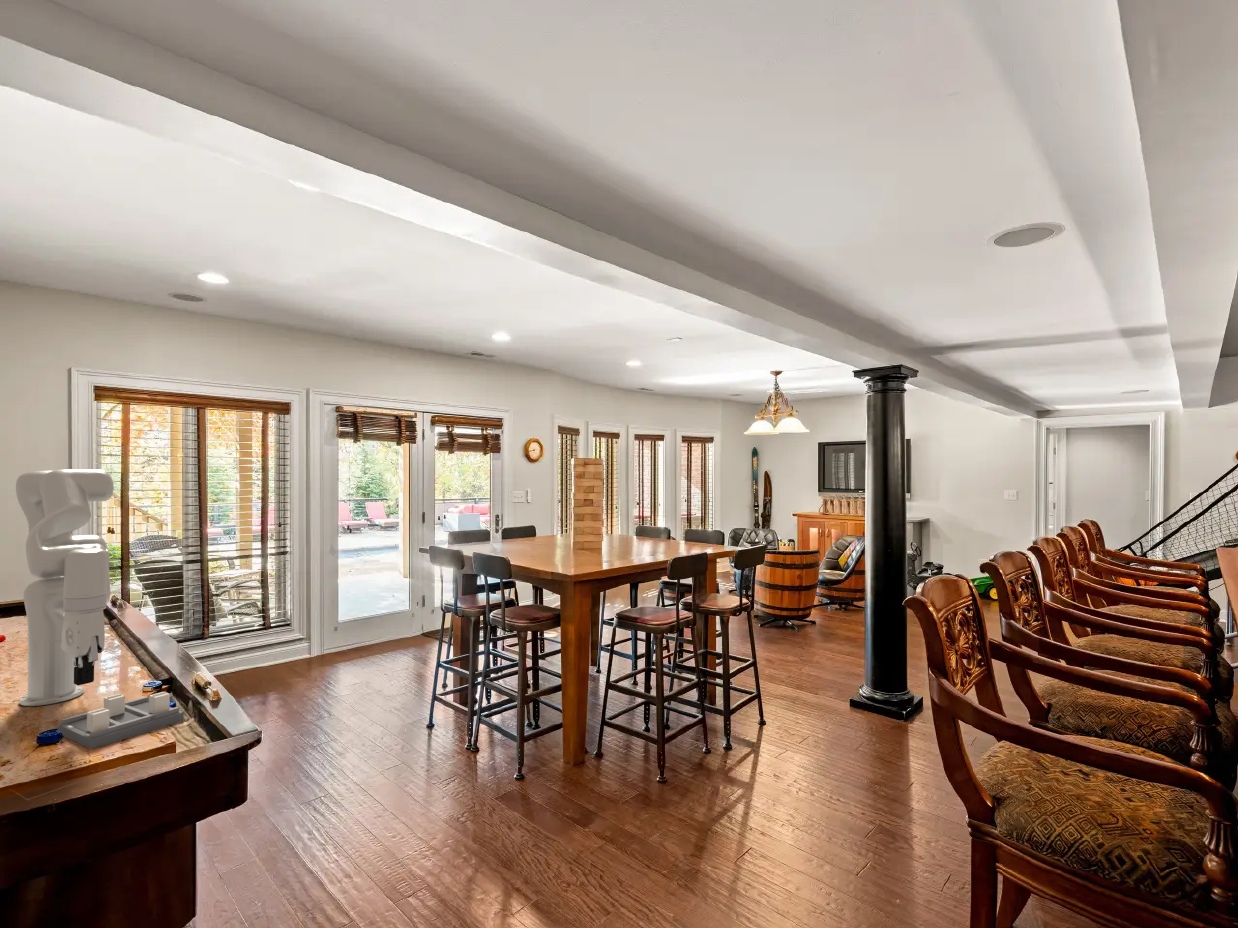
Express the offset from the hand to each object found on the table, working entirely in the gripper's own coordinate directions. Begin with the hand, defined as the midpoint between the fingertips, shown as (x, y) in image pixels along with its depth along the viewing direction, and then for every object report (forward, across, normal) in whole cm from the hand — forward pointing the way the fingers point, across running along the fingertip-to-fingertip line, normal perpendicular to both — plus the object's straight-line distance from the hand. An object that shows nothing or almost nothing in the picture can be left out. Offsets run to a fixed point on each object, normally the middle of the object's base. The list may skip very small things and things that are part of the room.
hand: (83, 682), depth 144 cm
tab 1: (+9, +8, 0) cm, 12 cm away
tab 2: (+9, +1, +6) cm, 11 cm away
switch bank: (+11, +5, +6) cm, 13 cm away
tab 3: (+9, +8, +12) cm, 17 cm away
